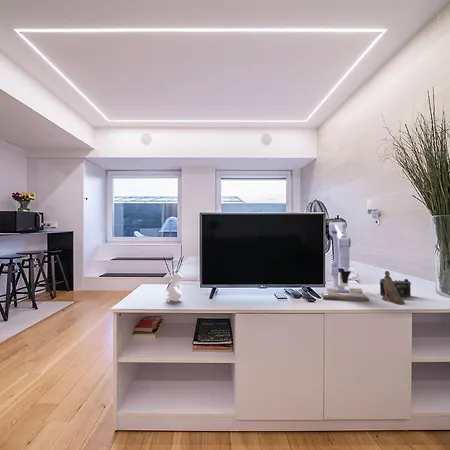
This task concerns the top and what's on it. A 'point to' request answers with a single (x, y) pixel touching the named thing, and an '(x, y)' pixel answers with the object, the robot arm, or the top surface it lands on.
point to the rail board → (345, 295)
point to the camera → (398, 287)
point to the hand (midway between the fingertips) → (344, 282)
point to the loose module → (341, 280)
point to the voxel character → (174, 288)
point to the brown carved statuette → (391, 291)
